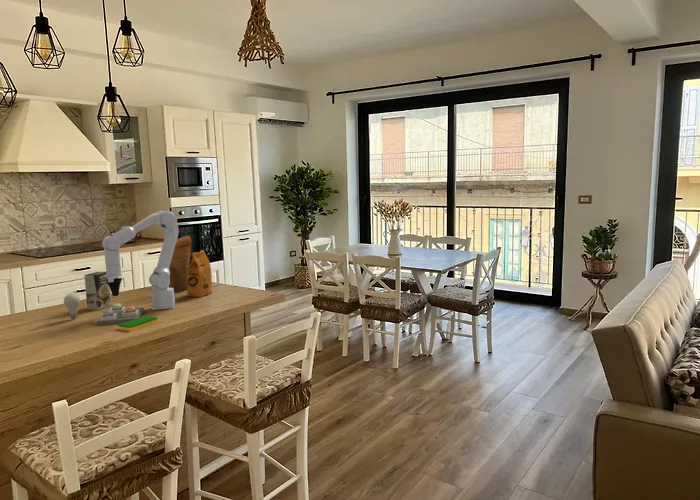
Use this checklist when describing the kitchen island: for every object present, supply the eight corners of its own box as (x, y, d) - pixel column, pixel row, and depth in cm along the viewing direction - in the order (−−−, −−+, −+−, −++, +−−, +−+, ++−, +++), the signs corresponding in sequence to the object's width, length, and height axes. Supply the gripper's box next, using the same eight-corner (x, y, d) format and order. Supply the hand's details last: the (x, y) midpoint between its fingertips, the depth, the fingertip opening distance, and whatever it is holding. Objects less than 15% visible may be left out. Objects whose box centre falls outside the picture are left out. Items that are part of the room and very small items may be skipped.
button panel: (143, 310, 226) (143, 304, 225) (137, 321, 208) (136, 314, 208) (107, 313, 222) (106, 306, 222) (97, 325, 205) (96, 318, 204)
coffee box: (99, 310, 229) (96, 274, 227) (86, 309, 230) (83, 274, 228) (112, 305, 238) (109, 271, 235) (100, 304, 239) (97, 270, 237)
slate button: (113, 314, 210) (113, 309, 210) (111, 316, 207) (111, 311, 207) (104, 314, 210) (103, 310, 209) (102, 317, 206) (101, 312, 206)
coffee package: (184, 296, 251) (181, 253, 248) (198, 291, 263) (195, 249, 260) (201, 297, 248) (198, 253, 245) (215, 292, 260) (212, 249, 257)
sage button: (122, 307, 220) (121, 303, 220) (120, 309, 217) (120, 305, 217) (113, 308, 220) (112, 304, 219) (111, 310, 216) (111, 306, 216)
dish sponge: (117, 330, 198) (117, 324, 198) (145, 321, 211) (145, 315, 210) (130, 332, 195) (130, 326, 195) (158, 323, 208) (158, 317, 207)
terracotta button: (135, 310, 216) (135, 305, 215) (134, 312, 212) (133, 307, 212) (126, 311, 215) (126, 306, 215) (125, 313, 211) (124, 308, 211)
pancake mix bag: (198, 287, 273) (195, 235, 269) (173, 294, 256) (169, 239, 252) (188, 286, 276) (185, 235, 272) (163, 294, 259) (159, 239, 255)
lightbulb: (85, 317, 216) (82, 292, 214) (73, 321, 210) (70, 295, 209) (74, 316, 218) (71, 291, 216) (62, 320, 212) (59, 295, 211)
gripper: (106, 262, 222) (109, 292, 223) (98, 267, 208) (101, 300, 209) (123, 261, 223) (126, 291, 225) (117, 266, 209) (120, 298, 211)
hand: (115, 295), depth 217 cm, fingers closed
